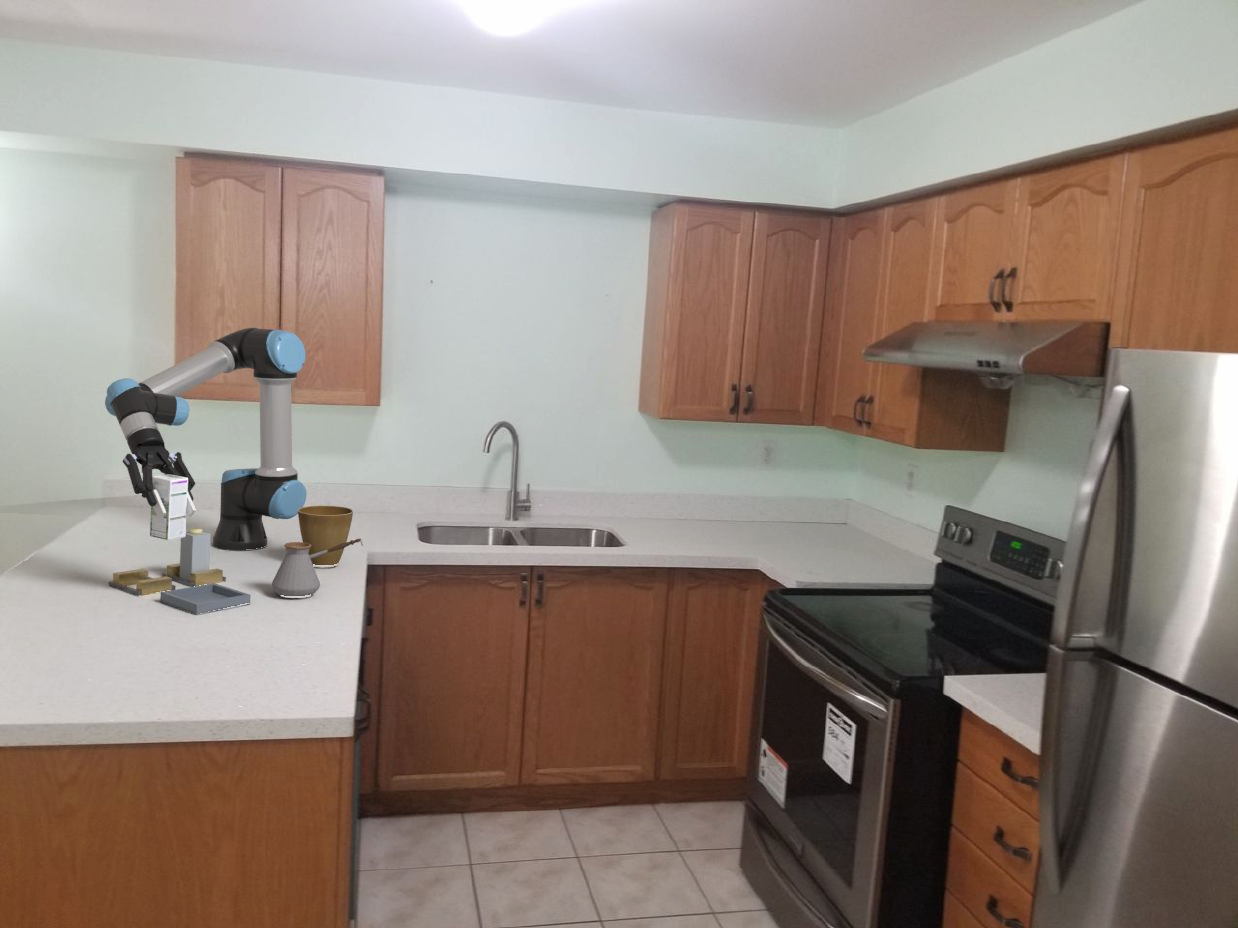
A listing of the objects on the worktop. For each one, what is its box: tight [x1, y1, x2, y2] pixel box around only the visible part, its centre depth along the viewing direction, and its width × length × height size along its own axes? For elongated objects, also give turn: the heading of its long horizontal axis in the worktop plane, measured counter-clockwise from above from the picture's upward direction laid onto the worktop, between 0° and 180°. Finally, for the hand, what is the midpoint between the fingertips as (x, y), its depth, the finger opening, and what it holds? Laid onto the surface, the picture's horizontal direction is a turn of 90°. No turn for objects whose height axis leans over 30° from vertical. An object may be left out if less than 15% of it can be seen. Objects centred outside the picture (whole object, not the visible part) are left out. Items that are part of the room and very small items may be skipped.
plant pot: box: [297, 505, 354, 565], centre depth 278 cm, size 15×15×16 cm
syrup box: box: [149, 473, 188, 541], centre depth 232 cm, size 6×6×14 cm
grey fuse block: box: [179, 527, 212, 580], centre depth 252 cm, size 5×5×13 cm
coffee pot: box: [271, 537, 364, 596], centre depth 246 cm, size 21×12×15 cm, turn 103°
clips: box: [162, 562, 227, 587], centre depth 253 cm, size 10×12×3 cm
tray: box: [159, 583, 251, 615], centre depth 232 cm, size 14×14×2 cm
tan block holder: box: [108, 568, 177, 597], centre depth 241 cm, size 10×12×3 cm
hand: (177, 514), depth 231 cm, fingers closed on syrup box, 7 cm apart
